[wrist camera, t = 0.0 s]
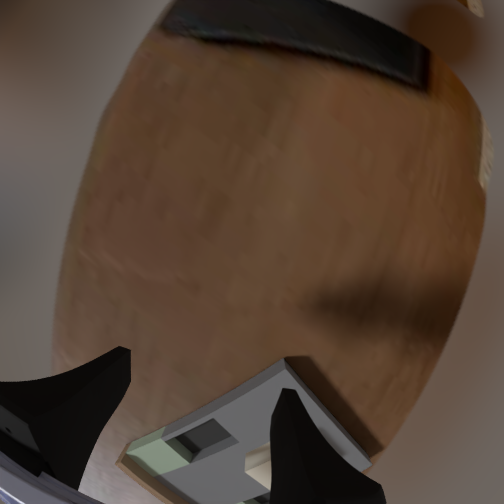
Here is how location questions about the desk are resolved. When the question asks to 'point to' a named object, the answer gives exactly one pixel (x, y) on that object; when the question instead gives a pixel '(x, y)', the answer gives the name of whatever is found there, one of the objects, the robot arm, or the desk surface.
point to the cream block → (259, 465)
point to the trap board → (226, 444)
